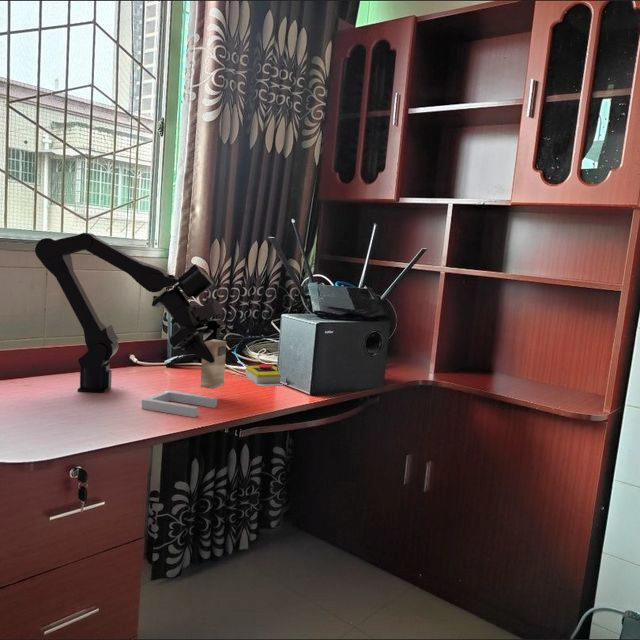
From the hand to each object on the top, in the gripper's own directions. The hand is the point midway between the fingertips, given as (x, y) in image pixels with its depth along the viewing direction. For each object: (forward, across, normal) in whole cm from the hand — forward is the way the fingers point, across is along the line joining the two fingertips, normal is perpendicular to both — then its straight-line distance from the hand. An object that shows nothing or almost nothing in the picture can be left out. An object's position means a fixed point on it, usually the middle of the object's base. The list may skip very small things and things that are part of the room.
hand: (218, 360), depth 150 cm
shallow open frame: (+4, -10, +10) cm, 15 cm away
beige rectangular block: (+4, 0, +6) cm, 7 cm away
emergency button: (+8, +27, +7) cm, 29 cm away
